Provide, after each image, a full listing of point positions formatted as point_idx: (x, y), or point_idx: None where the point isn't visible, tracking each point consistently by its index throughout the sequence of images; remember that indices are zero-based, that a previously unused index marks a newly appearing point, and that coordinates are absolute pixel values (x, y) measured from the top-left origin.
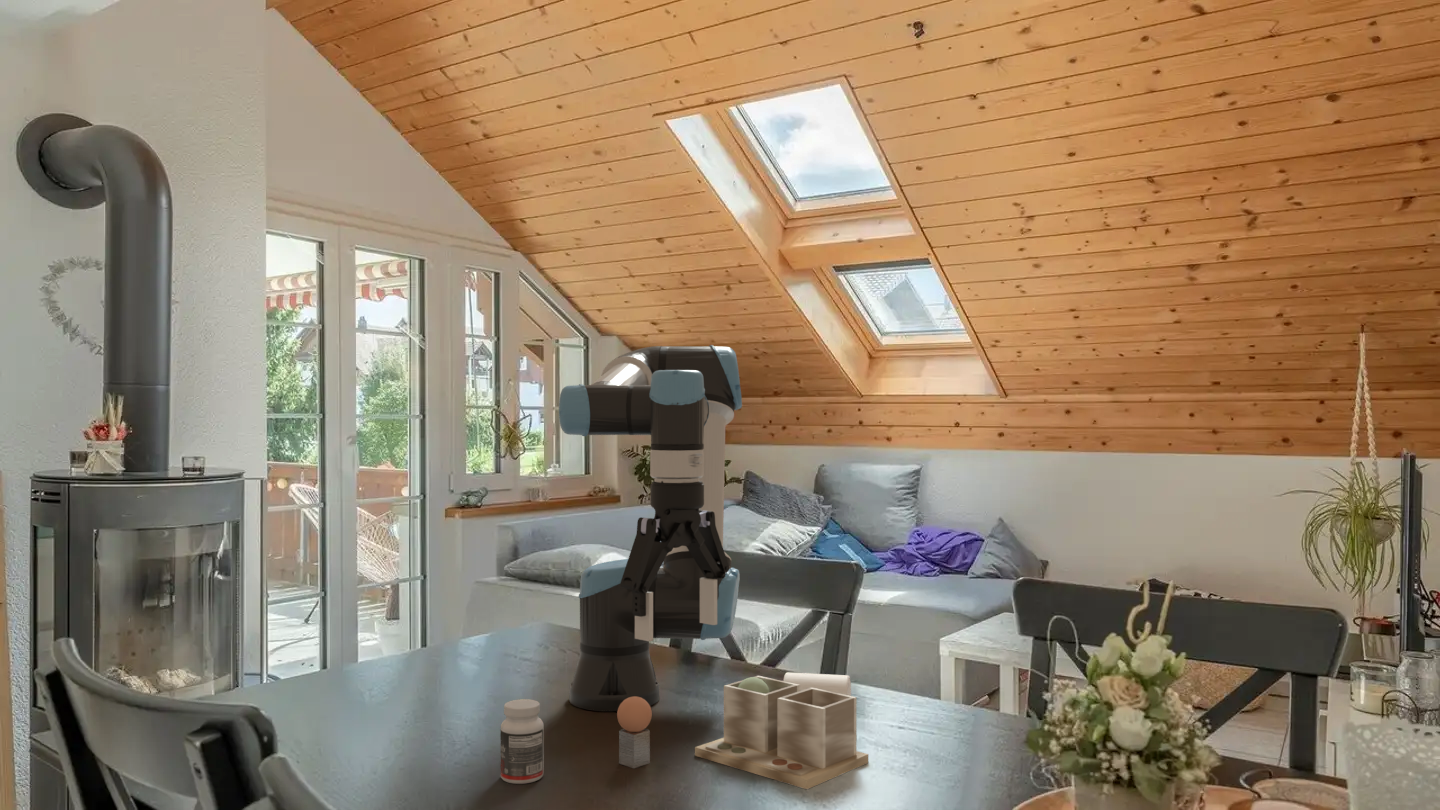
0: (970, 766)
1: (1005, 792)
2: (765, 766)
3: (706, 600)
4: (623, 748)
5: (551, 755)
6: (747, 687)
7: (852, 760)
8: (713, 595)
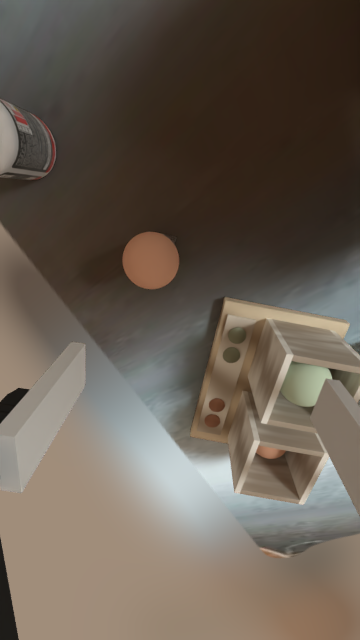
0: (316, 509)
1: (263, 535)
2: (204, 394)
3: (347, 447)
4: None
5: (120, 112)
6: (286, 390)
7: None
8: (346, 485)
